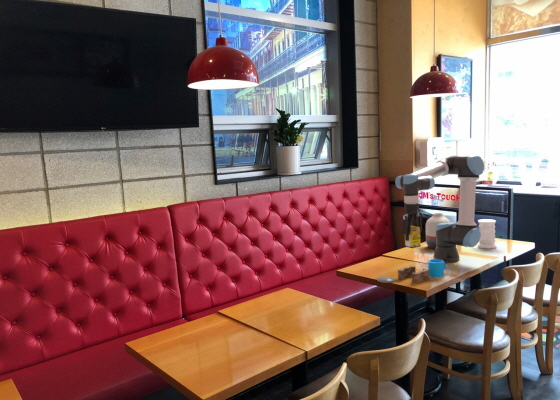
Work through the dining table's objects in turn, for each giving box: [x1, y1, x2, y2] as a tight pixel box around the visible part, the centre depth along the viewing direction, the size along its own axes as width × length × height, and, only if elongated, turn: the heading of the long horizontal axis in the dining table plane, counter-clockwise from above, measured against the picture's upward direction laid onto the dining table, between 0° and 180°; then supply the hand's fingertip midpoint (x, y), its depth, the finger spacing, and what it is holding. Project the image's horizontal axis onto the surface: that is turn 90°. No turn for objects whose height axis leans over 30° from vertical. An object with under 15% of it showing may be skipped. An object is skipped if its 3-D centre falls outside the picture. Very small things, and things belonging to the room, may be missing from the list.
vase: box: [425, 212, 451, 250], centre depth 306 cm, size 17×17×24 cm
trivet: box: [376, 276, 397, 284], centre depth 242 cm, size 10×10×1 cm
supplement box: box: [404, 225, 421, 249], centre depth 239 cm, size 6×6×11 cm
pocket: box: [397, 265, 431, 284], centre depth 242 cm, size 11×12×5 cm
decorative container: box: [477, 218, 498, 250], centre depth 300 cm, size 12×12×18 cm
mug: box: [427, 258, 447, 278], centre depth 246 cm, size 12×8×8 cm
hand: (412, 245), depth 240 cm, fingers closed on supplement box, 6 cm apart
